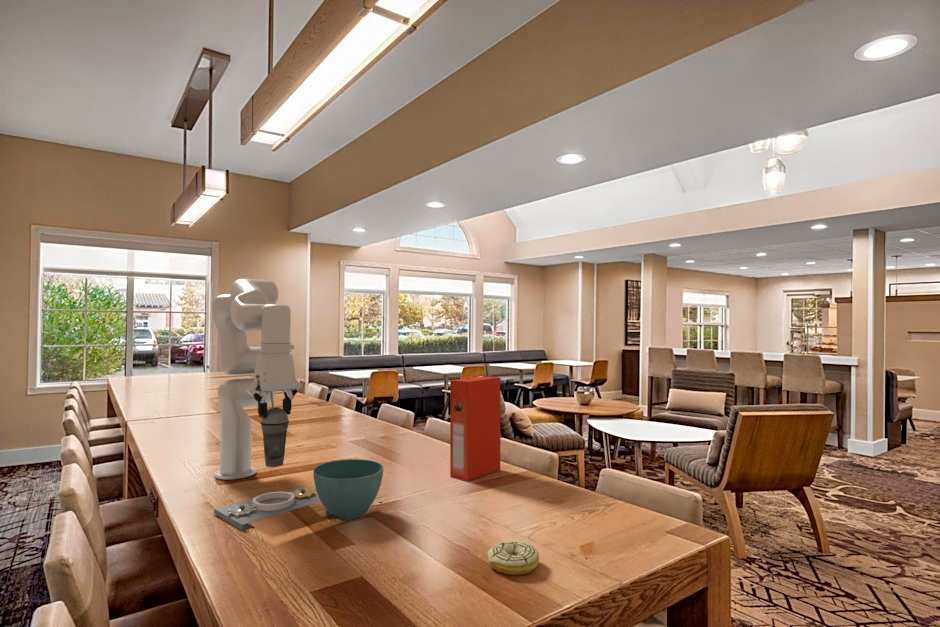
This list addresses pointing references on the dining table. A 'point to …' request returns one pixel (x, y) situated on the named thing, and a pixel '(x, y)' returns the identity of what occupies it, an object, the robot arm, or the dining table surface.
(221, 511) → the gear board
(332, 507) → the plant pot
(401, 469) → the dining table surface
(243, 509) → the gear
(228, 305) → the robot arm
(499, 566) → the decorated donut
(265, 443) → the beverage cup
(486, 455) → the file binder
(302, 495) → the gear
